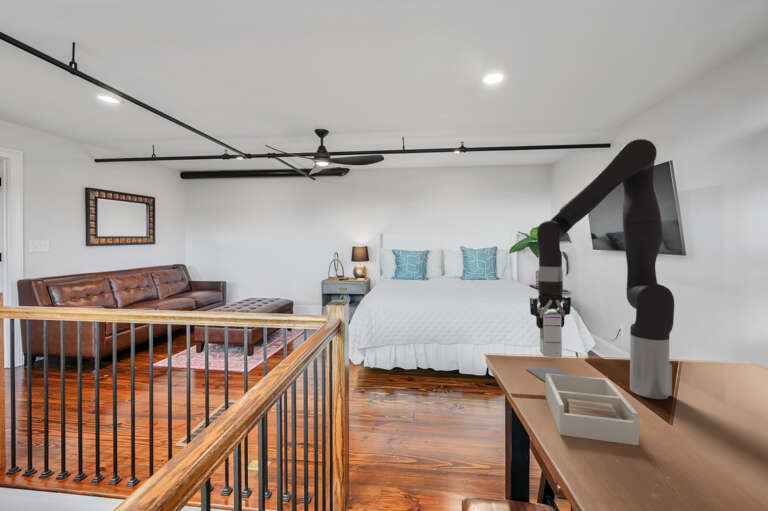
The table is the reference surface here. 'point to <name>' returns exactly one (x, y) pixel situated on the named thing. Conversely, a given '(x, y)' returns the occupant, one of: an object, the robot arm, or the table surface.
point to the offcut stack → (591, 409)
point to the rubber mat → (541, 372)
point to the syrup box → (551, 335)
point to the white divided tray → (584, 425)
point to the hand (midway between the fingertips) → (550, 327)
